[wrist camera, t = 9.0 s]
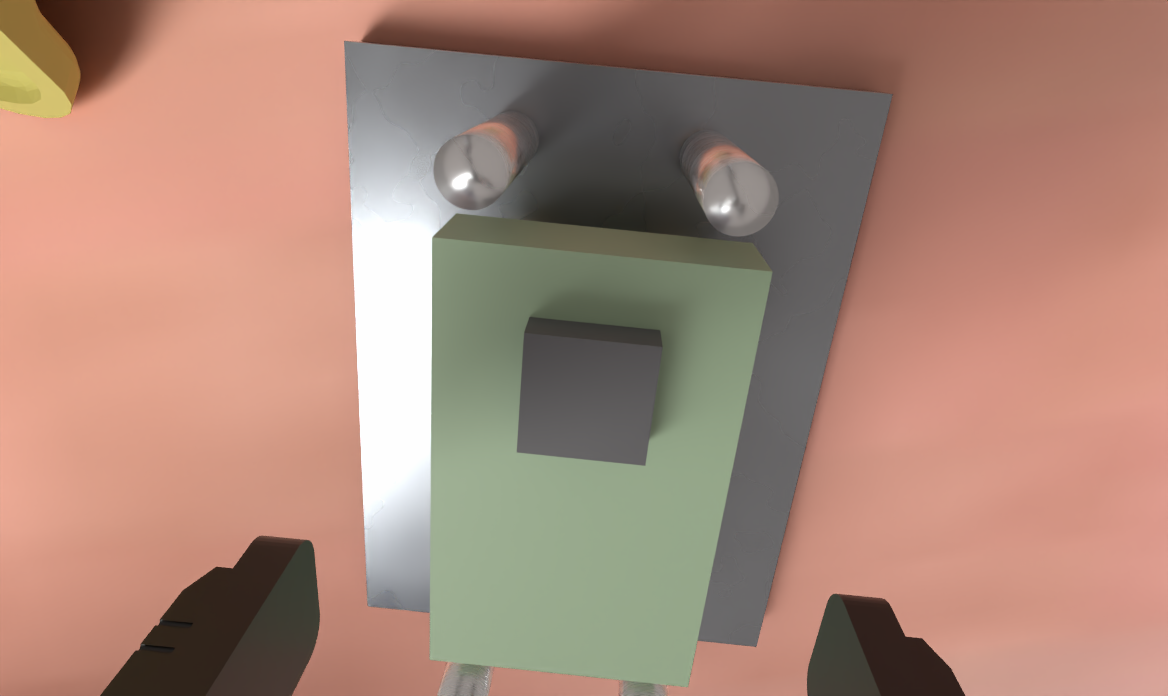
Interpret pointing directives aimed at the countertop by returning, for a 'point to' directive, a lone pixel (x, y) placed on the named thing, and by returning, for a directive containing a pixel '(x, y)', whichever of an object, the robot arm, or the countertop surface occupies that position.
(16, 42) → the plastic component
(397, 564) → the chassis
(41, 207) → the countertop surface
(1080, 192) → the countertop surface
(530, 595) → the board
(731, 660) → the countertop surface
